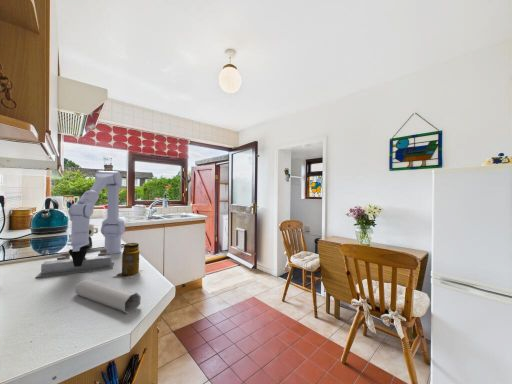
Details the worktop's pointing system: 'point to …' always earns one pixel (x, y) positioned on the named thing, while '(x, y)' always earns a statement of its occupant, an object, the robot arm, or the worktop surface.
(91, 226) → the character mug
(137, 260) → the condiment
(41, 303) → the worktop surface
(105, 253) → the rail stand
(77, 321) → the worktop surface
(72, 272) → the mat
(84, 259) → the rail
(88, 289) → the tube
